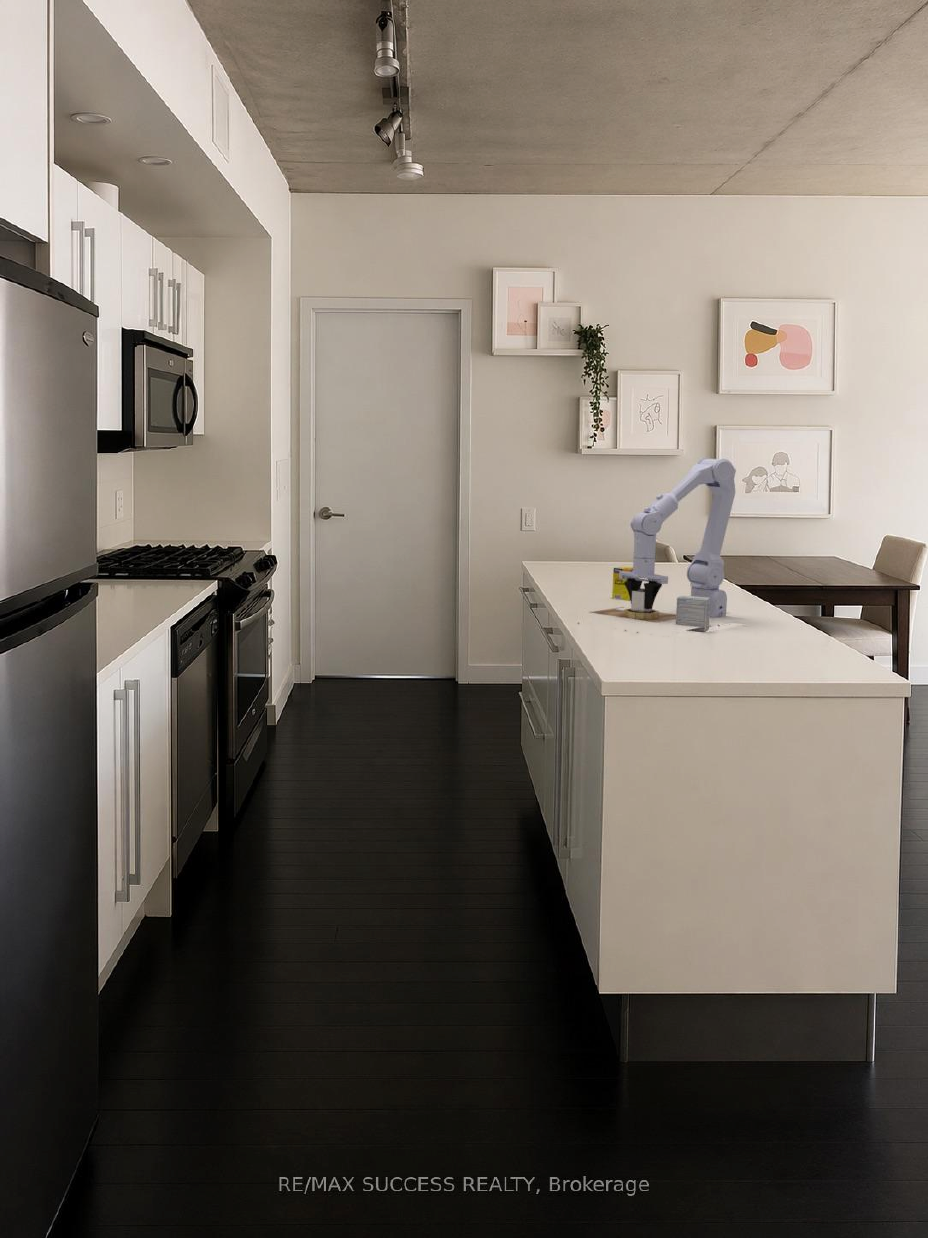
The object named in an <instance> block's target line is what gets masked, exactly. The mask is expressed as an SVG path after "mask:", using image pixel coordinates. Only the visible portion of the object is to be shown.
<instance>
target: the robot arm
mask: <svg viewBox="0 0 928 1238" xmlns="http://www.w3.org/2000/svg"><path fill="white" fill-rule="evenodd" d="M736 472H737V470H736V468H735V467H734V465H733V463H732V462H731V461H730V460H728V459H726V458H709V457H707V458H706V457H704V458H702V459H699V460H698V462H697V463H695V464H694V465H692V466H691V469H690V471H689V472H688V473H687V474H686V475H685V476H684V477H683V479H681V480H680V481H679V482H678V483H677V485H675V487H674V488H673V489H672V490H671V491H670V492H669V493H667V492H663V493H659V494H657V496H655V498H656V499H655V500H654V501H653V502H651V504H650V505H648V506H645V508H644V511H643V512H638V513H637V514H635V515H634V516H633V519H632V521H631V522H630V527H631V528H630V529H631V531H633V544H634V545H633V560H632V561H633V563H632V567H633V572H626V571H621V572H619V579H627V581H625V582H624V584H625V586H626V588H627V590H628V593H629V596H630V604H631V605H632V591H634V590H637V589H638V588H641V587H642V584H643V588H644V589H645V595H646V602H645V606H646V609H653V606H654V603H655V599H656V597H657V594H658V593H659V591H660V590H661V588H662V587H663V585H666V584H668V583H669V575H661V574H656V573H655V566H656V565H655V564H656V545H657V544H656V543H657V534H658V533H660V531H661V529H662V525H663V523H664V522H665V521H666V520H668V519H669V518H670V517H671V516H672V515H673V514H674V513H675V512H676V511H677V510H678V508H679V503H680V501H682V499H684V498H685V497H686V496H688V495H689V494H690V493H691V492H692V491H694V490H695V489H696V488H697V487H698V486H700V485H706V487H708V488H709V490H710V492H711V493H712V495H713V497H712V500H711V506H710V509H709V514H708V517H707V521H706V526H705V530H704V533H703V538H702V542H701V546H700V550H699V551H698V552H697V553H696V554H695V555H694V556H693V557H692V561H691V562H690V564H689V565H688V567H687V570H686V577H687V580H688V581H689V582H690V596H696V597H707V598H710V614H709V618H714V619H715V618H723V617H727V604H728V603H727V602H728V597H727V596H728V595H727V593H726V591H725V590H723V589H720V586H721V585H722V584H723V581H724V579H725V572H724V567H725V561H724V559H723V558H722V556H721V553H722V549H723V544H724V541H725V537H726V532H727V529H728V528H727V527H728V524H729V520H730V516H731V511H732V509H733V503H734V500H735V495H736V483H735V477H736V476H735V475H736ZM643 582H644V583H643Z"/></svg>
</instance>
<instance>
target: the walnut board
mask: <svg viewBox="0 0 928 1238" xmlns="http://www.w3.org/2000/svg"><path fill="white" fill-rule="evenodd" d="M618 608H625V606H621V607H614V608H608V609H601V610H594V611H589V613H591V614H597V615H603V616H604V615H605V616H611V617H616V618H617V617H618V618H622V619H623V618H624V619H630V620H633V619H632V618H627V617H624V612H622V611H615V610H614V609H618ZM635 620H637V621H642V622H643V621H645V622H648V623H649V622H650V623H660V622H666V621H671V620H676V613H675V614H674V613H667V612H660V611H659V618H658V619H635Z"/></svg>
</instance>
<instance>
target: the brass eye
mask: <svg viewBox="0 0 928 1238" xmlns="http://www.w3.org/2000/svg"><path fill="white" fill-rule="evenodd" d="M659 612H660V610H657V609H653V608H652V613H636V612H631V609H625V610H624V617H627V618H626V619H629V618H632V619H631V620H636V619H658V618H659Z"/></svg>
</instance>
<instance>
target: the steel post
mask: <svg viewBox="0 0 928 1238" xmlns="http://www.w3.org/2000/svg"><path fill="white" fill-rule="evenodd" d="M645 602H646V595H645V588H644V587H643V588H638V589H637V590H634V591H632V605H631V606H630V607H631V612H636V613H652V609H653V608H652V609H646V606H645Z"/></svg>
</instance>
